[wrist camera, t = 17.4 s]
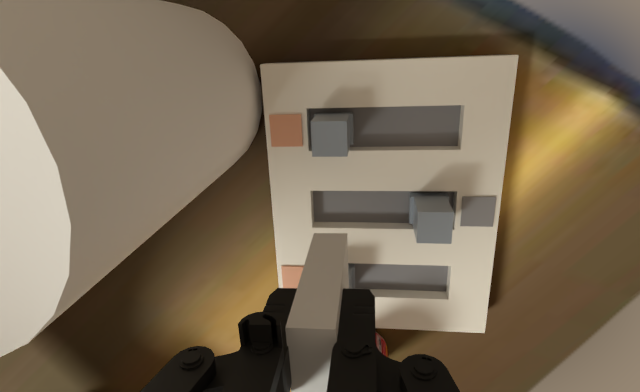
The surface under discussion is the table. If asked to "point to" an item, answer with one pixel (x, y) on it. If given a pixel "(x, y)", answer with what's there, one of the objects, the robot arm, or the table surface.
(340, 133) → the switch tab
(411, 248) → the switch bank
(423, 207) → the switch tab
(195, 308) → the table surface
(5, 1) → the cylinder
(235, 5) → the table surface
